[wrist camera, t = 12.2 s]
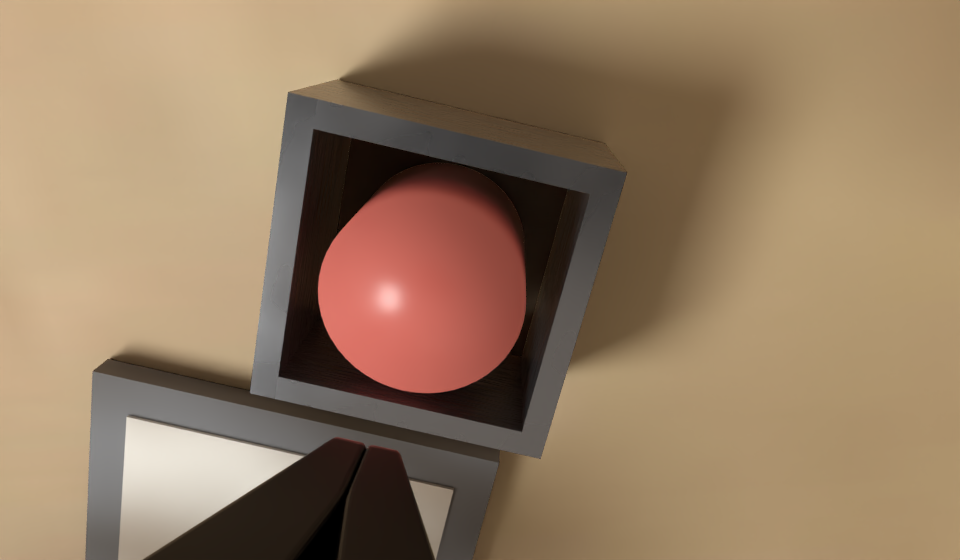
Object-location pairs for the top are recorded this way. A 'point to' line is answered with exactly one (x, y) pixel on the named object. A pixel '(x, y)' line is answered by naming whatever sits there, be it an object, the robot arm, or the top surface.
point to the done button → (427, 280)
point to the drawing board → (244, 460)
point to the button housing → (313, 226)
